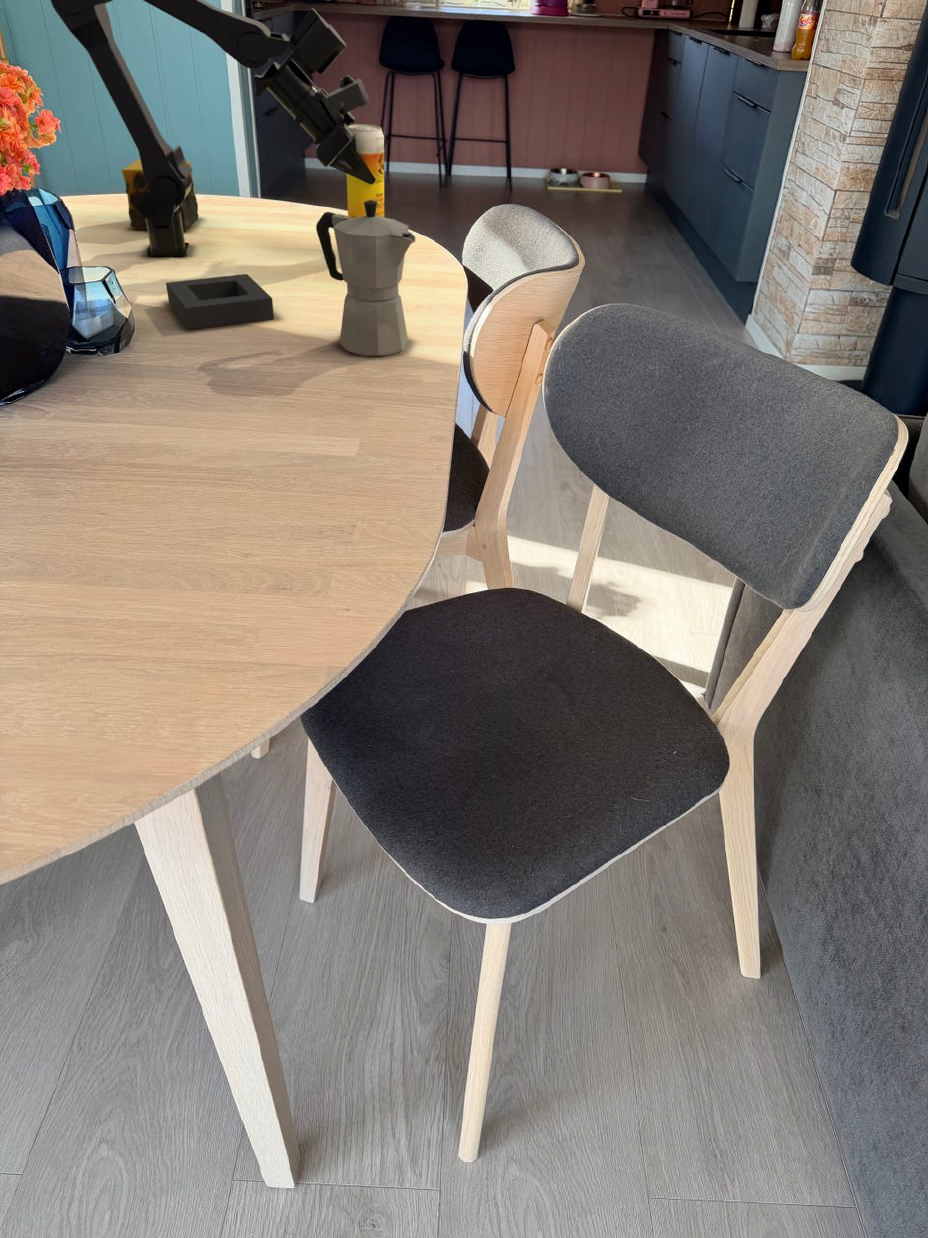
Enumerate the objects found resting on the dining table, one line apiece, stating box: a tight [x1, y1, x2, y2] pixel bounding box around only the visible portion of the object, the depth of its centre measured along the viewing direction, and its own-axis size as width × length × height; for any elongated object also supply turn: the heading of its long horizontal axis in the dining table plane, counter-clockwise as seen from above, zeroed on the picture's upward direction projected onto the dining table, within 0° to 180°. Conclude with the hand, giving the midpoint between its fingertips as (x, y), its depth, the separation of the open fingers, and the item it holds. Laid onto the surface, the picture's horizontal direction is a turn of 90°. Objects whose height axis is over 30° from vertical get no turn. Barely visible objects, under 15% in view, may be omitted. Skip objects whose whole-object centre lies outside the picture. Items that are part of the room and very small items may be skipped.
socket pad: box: [165, 273, 275, 331], centre depth 128 cm, size 12×12×3 cm
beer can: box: [346, 124, 385, 219], centre depth 148 cm, size 6×6×15 cm
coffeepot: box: [315, 200, 417, 357], centre depth 116 cm, size 15×9×18 cm, turn 57°
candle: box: [121, 158, 199, 232], centre depth 163 cm, size 10×10×10 cm
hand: (373, 178), depth 148 cm, fingers closed on beer can, 6 cm apart
